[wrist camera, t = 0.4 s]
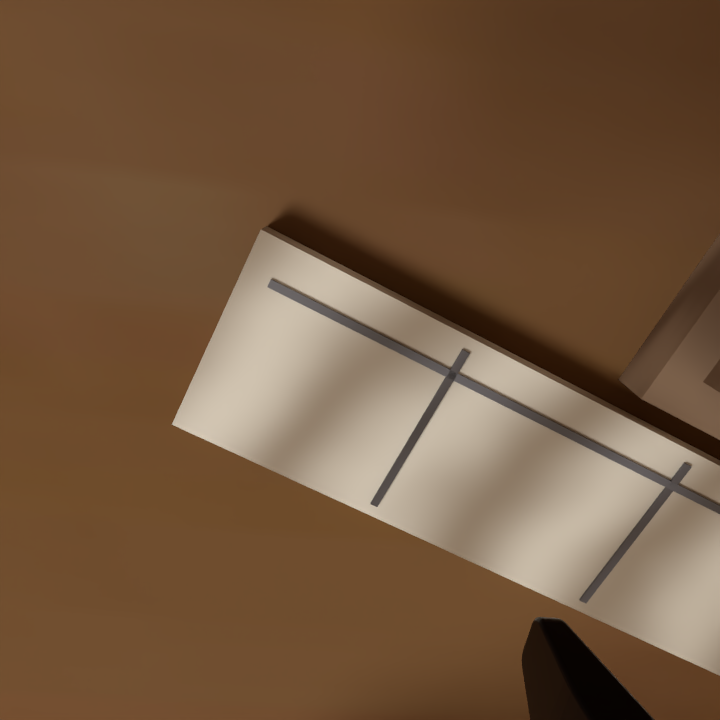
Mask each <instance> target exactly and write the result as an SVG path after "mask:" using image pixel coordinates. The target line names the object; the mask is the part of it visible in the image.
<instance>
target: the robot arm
mask: <svg viewBox="0 0 720 720" xmlns="http://www.w3.org/2000/svg"><path fill="white" fill-rule="evenodd" d="M522 669H523V675H524V682H525V688H526V695H527V701H528V708H529V714H530V720H654V719H653V718H652V717H651V716H650V714H649V713H648V712H647V711H646V710H645V709H644V708H643V707H642V706H641V705H640V703H639V702H638V701H637V700H636V699H635V698H634V697H633V696H632V695H631V694H630V693H629V691H628V690H627V689H626V688H625V687H624V686H623V685H622V684H621V683H620V682H619V681H618V679H617V678H616V677H615V676H614V675H613V674H612V673H611V672H610V671H609V670H608V669H607V667H606V666H605V665H604V664H603V663H602V662H601V661H600V660H599V659H598V658H597V656H596V655H595V654H594V653H593V652H592V651H591V650H590V649H589V648H588V647H587V646H586V644H585V643H584V642H583V641H582V640H581V639H580V638H579V637H578V636H577V635H576V634H575V632H574V631H573V630H572V629H571V628H570V627H569V626H568V625H567V624H566V623H565V622H564V621H563V620H561V619H558V618H547V617H537V618H536V619H535V620H534V621H533V623H532V626H531V629H530V632H529V635H528V638H527V641H526V643H525V646H524V649H523V654H522Z"/></svg>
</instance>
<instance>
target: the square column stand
mask: <svg viewBox="0 0 720 720" xmlns="http://www.w3.org/2000/svg"><path fill="white" fill-rule="evenodd" d="M618 380H619V381H620V382H622V383H623V384H624V385H625V386H626V387H628V388H629V389H630V390H631V391H632V392H634V393H635V394H636V395H637V396H638V397H639V398H641V399H642V400H644V401H646V402H648V403H650V404H652V405H654V406H656V407H658V408H659V409H661V410H663V411H665V412H667V413H669V414H671V415H673V416H675V417H677V418H679V419H680V420H682V421H684V422H686V423H688V424H690V425H692V426H694V427H696V428H698V429H700V430H702V431H703V432H705V433H707V434H709V435H711V436H713V437H715V438H717V439H719V440H720V234H719V235H718V237H717V238H716V240H715V241H714V243H713V244H712V245H711V247H710V248H709V250H708V251H707V253H706V254H705V255H704V257H703V258H702V260H701V261H700V263H699V264H698V266H697V267H696V268H695V270H694V271H693V273H692V274H691V276H690V277H689V279H688V280H687V281H686V283H685V284H684V286H683V287H682V289H681V290H680V291H679V293H678V294H677V296H676V297H675V299H674V300H673V302H672V303H671V304H670V306H669V307H668V309H667V310H666V312H665V313H664V315H663V316H662V317H661V319H660V320H659V322H658V323H657V325H656V326H655V327H654V329H653V330H652V332H651V333H650V335H649V336H648V338H647V339H646V340H645V342H644V343H643V345H642V346H641V348H640V349H639V350H638V352H637V353H636V355H635V356H634V358H633V359H632V361H631V362H630V363H629V365H628V366H627V368H626V369H625V371H624V372H623V374H622V375H621V376H620V378H619V379H618Z"/></svg>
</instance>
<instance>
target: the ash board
mask: <svg viewBox="0 0 720 720" xmlns="http://www.w3.org/2000/svg"><path fill="white" fill-rule="evenodd" d="M172 425H174V426H176V427H178V428H181V429H183V430H185V431H187V432H189V433H192V434H194V435H196V436H198V437H200V438H202V439H205V440H207V441H209V442H211V443H213V444H216V445H218V446H220V447H222V448H224V449H226V450H229V451H231V452H233V453H235V454H237V455H240V456H242V457H244V458H246V459H248V460H250V461H253V462H255V463H257V464H259V465H261V466H264V467H266V468H268V469H270V470H272V471H274V472H277V473H279V474H281V475H283V476H285V477H288V478H290V479H292V480H294V481H296V482H298V483H301V484H303V485H305V486H307V487H309V488H311V489H314V490H316V491H318V492H320V493H322V494H325V495H327V496H329V497H331V498H333V499H335V500H338V501H340V502H342V503H344V504H346V505H349V506H351V507H353V508H355V509H357V510H359V511H362V512H364V513H366V514H368V515H370V516H373V517H375V518H377V519H379V520H381V521H383V522H386V523H388V524H390V525H392V526H394V527H397V528H399V529H401V530H403V531H405V532H407V533H410V534H412V535H414V536H416V537H418V538H421V539H423V540H425V541H427V542H429V543H431V544H434V545H436V546H438V547H440V548H442V549H445V550H447V551H449V552H451V553H453V554H455V555H458V556H460V557H462V558H464V559H466V560H469V561H471V562H473V563H475V564H477V565H479V566H482V567H484V568H486V569H488V570H490V571H493V572H495V573H497V574H499V575H501V576H503V577H506V578H508V579H510V580H512V581H514V582H517V583H519V584H521V585H523V586H525V587H527V588H530V589H532V590H534V591H536V592H538V593H541V594H543V595H545V596H547V597H549V598H551V599H554V600H556V601H558V602H560V603H562V604H565V605H567V606H569V607H571V608H573V609H575V610H578V611H580V612H582V613H584V614H586V615H589V616H591V617H593V618H595V619H597V620H599V621H602V622H604V623H606V624H608V625H610V626H613V627H615V628H617V629H619V630H621V631H623V632H626V633H628V634H630V635H632V636H634V637H637V638H639V639H641V640H643V641H645V642H647V643H650V644H652V645H654V646H656V647H658V648H660V649H663V650H665V651H667V652H669V653H671V654H674V655H676V656H678V657H680V658H682V659H684V660H687V661H689V662H691V663H693V664H695V665H698V666H700V667H702V668H704V669H706V670H708V671H711V672H713V673H715V674H717V675H719V676H720V460H718V459H716V458H714V457H712V456H710V455H709V454H707V453H705V452H703V451H701V450H699V449H697V448H695V447H693V446H691V445H689V444H687V443H685V442H683V441H681V440H680V439H678V438H676V437H674V436H672V435H670V434H668V433H666V432H664V431H662V430H660V429H658V428H656V427H654V426H652V425H651V424H649V423H647V422H645V421H643V420H641V419H639V418H637V417H635V416H633V415H631V414H629V413H627V412H625V411H623V410H621V409H620V408H618V407H616V406H614V405H612V404H610V403H608V402H606V401H604V400H602V399H600V398H598V397H596V396H594V395H592V394H591V393H589V392H587V391H585V390H583V389H581V388H579V387H577V386H575V385H573V384H571V383H569V382H567V381H565V380H563V379H561V378H560V377H558V376H556V375H554V374H552V373H550V372H548V371H546V370H544V369H542V368H540V367H538V366H536V365H534V364H532V363H531V362H529V361H527V360H525V359H523V358H521V357H519V356H517V355H515V354H513V353H511V352H509V351H507V350H505V349H503V348H502V347H500V346H498V345H496V344H494V343H492V342H490V341H488V340H486V339H484V338H482V337H480V336H478V335H476V334H474V333H472V332H471V331H469V330H467V329H465V328H463V327H461V326H459V325H457V324H455V323H453V322H451V321H449V320H447V319H445V318H443V317H442V316H440V315H438V314H436V313H434V312H432V311H430V310H428V309H426V308H424V307H422V306H420V305H418V304H416V303H414V302H413V301H411V300H409V299H407V298H405V297H403V296H401V295H399V294H397V293H395V292H393V291H391V290H389V289H387V288H385V287H383V286H382V285H380V284H378V283H376V282H374V281H372V280H370V279H368V278H366V277H364V276H362V275H360V274H358V273H356V272H354V271H353V270H351V269H349V268H347V267H345V266H343V265H341V264H339V263H337V262H335V261H333V260H331V259H329V258H327V257H325V256H323V255H322V254H320V253H318V252H316V251H314V250H312V249H310V248H308V247H306V246H304V245H302V244H300V243H298V242H296V241H294V240H293V239H291V238H289V237H287V236H285V235H283V234H281V233H279V232H277V231H275V230H273V229H271V228H269V227H267V226H266V227H264V228H263V229H261V230H260V233H259V235H258V237H257V239H256V241H255V244H254V246H253V248H252V250H251V252H250V255H249V257H248V259H247V261H246V263H245V265H244V268H243V270H242V272H241V274H240V276H239V279H238V281H237V283H236V285H235V287H234V290H233V292H232V294H231V296H230V298H229V301H228V303H227V305H226V307H225V309H224V312H223V314H222V316H221V318H220V320H219V322H218V325H217V327H216V329H215V331H214V333H213V336H212V338H211V340H210V342H209V344H208V347H207V349H206V351H205V353H204V355H203V358H202V360H201V362H200V364H199V366H198V369H197V371H196V373H195V375H194V377H193V379H192V382H191V384H190V386H189V388H188V390H187V393H186V395H185V397H184V399H183V401H182V404H181V406H180V408H179V410H178V412H177V415H176V417H175V419H174V421H173V423H172Z"/></svg>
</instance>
